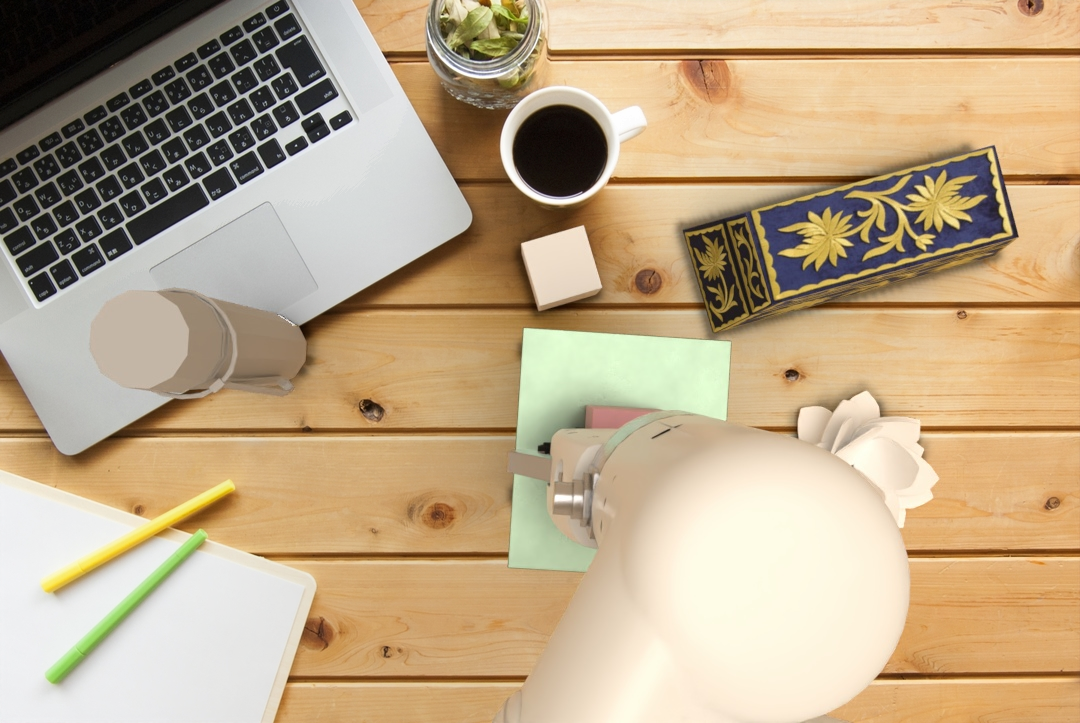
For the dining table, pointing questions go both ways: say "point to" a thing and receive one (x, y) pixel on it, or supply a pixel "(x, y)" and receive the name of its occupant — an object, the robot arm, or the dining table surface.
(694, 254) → the decorative box
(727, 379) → the pale green block
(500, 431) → the dining table surface
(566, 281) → the pale peach cube
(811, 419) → the lotus flower
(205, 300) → the water bottle
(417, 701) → the dining table surface
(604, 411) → the pink box
